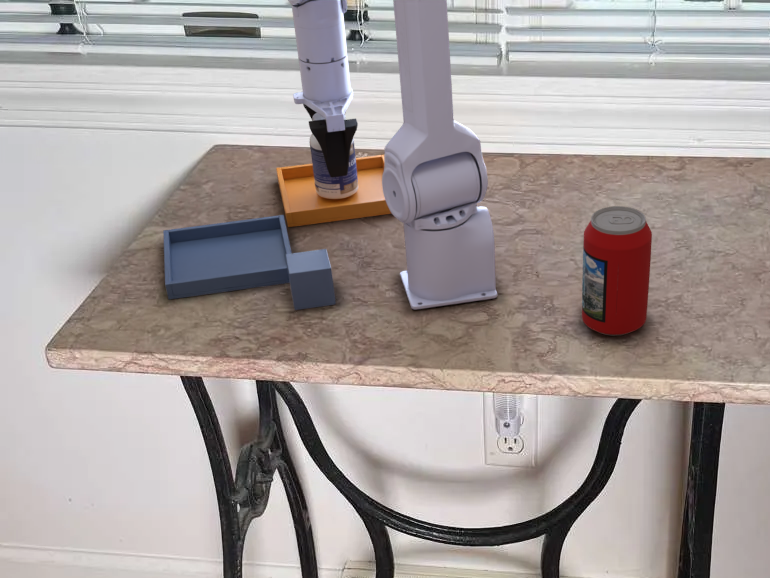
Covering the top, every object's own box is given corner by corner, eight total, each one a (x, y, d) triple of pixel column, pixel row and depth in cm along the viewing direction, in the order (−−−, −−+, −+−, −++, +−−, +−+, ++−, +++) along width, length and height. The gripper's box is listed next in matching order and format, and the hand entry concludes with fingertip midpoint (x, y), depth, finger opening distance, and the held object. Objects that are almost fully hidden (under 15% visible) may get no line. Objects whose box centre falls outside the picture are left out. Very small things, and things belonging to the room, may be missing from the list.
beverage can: (580, 306, 127) (583, 203, 119) (644, 306, 126) (651, 202, 118) (581, 340, 121) (584, 234, 114) (648, 340, 121) (655, 234, 113)
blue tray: (285, 228, 143) (283, 214, 142) (296, 281, 133) (294, 266, 132) (166, 244, 141) (163, 230, 140) (168, 299, 131) (165, 284, 130)
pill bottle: (352, 201, 146) (343, 125, 140) (310, 199, 147) (300, 123, 141) (363, 182, 150) (356, 108, 144) (323, 180, 151) (314, 106, 145)
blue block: (330, 284, 132) (326, 248, 129) (335, 304, 129) (331, 268, 126) (290, 290, 131) (285, 253, 129) (294, 310, 128) (289, 273, 125)
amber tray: (386, 167, 155) (385, 154, 154) (403, 212, 145) (402, 197, 144) (278, 181, 153) (276, 167, 152) (287, 227, 143) (285, 213, 142)
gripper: (282, 38, 143) (297, 145, 151) (294, 81, 132) (309, 194, 140) (340, 32, 144) (352, 139, 152) (357, 74, 133) (368, 186, 141)
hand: (335, 165), depth 147 cm, fingers closed on pill bottle, 5 cm apart
